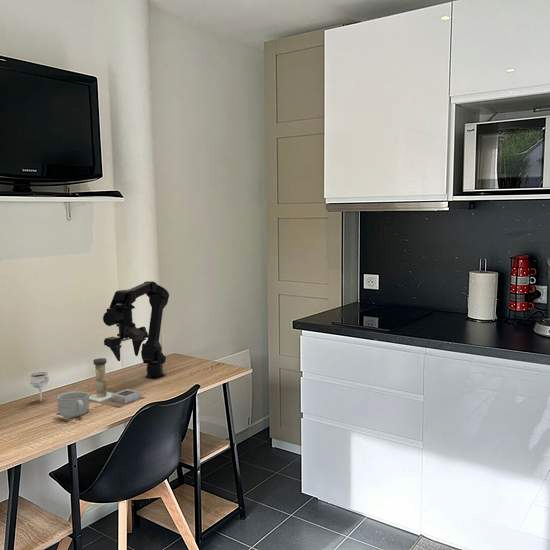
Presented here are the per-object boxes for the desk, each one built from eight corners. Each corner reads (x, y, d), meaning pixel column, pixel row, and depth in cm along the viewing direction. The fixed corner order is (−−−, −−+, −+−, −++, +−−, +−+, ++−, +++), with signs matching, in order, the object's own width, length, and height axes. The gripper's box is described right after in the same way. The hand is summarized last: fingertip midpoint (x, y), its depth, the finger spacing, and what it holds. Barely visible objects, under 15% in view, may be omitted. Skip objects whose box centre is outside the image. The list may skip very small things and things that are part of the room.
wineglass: (33, 409, 207) (30, 378, 206) (30, 404, 213) (27, 374, 212) (52, 405, 211) (50, 374, 210) (48, 400, 217) (46, 371, 215)
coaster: (103, 392, 221) (103, 391, 221) (118, 395, 216) (118, 394, 215) (84, 398, 213) (84, 397, 213) (99, 402, 208) (99, 401, 208)
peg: (105, 393, 218) (103, 357, 216) (109, 396, 214) (108, 360, 212) (93, 395, 215) (91, 359, 213) (97, 398, 211) (95, 362, 210)
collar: (127, 394, 216) (127, 388, 216) (141, 398, 212) (140, 391, 211) (111, 400, 210) (111, 394, 209) (125, 404, 205) (124, 397, 205)
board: (108, 392, 224) (108, 389, 224) (145, 400, 212) (145, 397, 212) (81, 401, 214) (81, 398, 214) (118, 411, 201) (118, 408, 201)
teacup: (57, 414, 200) (55, 393, 200) (88, 408, 205) (86, 388, 204) (61, 427, 188) (59, 404, 187) (94, 420, 193) (92, 398, 192)
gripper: (120, 327, 212) (123, 366, 214) (156, 318, 227) (158, 355, 229) (101, 324, 218) (104, 363, 220) (137, 316, 234) (140, 352, 235)
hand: (127, 358), depth 226 cm, fingers open, 9 cm apart
